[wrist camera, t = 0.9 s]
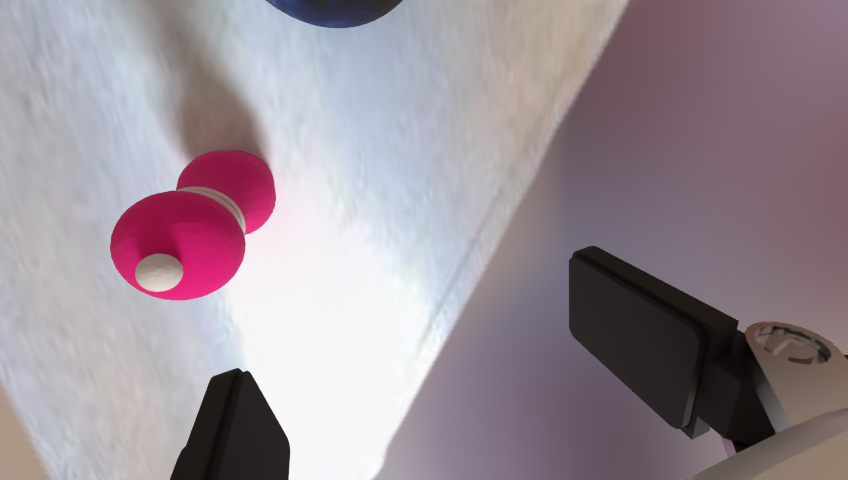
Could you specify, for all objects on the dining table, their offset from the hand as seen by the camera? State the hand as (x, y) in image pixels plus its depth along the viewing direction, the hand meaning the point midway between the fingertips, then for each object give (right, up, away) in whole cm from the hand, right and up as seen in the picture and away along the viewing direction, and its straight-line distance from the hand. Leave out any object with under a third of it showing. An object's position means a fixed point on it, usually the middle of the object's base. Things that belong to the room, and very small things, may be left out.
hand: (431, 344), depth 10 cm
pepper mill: (-18, +8, +23) cm, 31 cm away
